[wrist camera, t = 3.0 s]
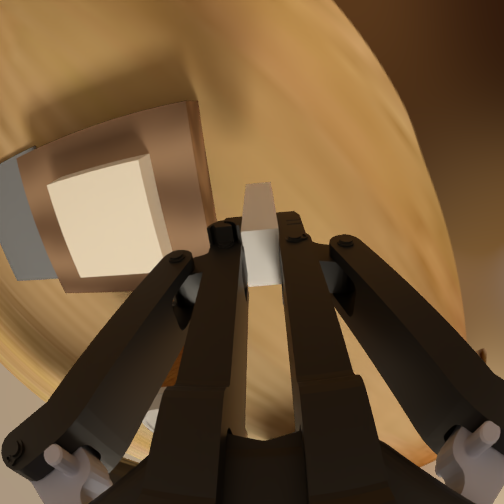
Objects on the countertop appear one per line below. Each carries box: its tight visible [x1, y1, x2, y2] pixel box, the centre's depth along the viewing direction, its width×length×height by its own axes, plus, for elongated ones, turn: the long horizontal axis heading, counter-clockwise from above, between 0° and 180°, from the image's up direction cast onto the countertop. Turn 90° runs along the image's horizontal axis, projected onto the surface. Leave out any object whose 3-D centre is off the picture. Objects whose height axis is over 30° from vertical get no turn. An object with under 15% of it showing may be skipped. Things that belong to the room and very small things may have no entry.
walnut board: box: [16, 101, 217, 293], centre depth 21 cm, size 14×16×4 cm
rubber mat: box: [0, 146, 58, 281], centre depth 24 cm, size 15×12×1 cm
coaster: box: [47, 154, 172, 278], centre depth 18 cm, size 8×8×2 cm
